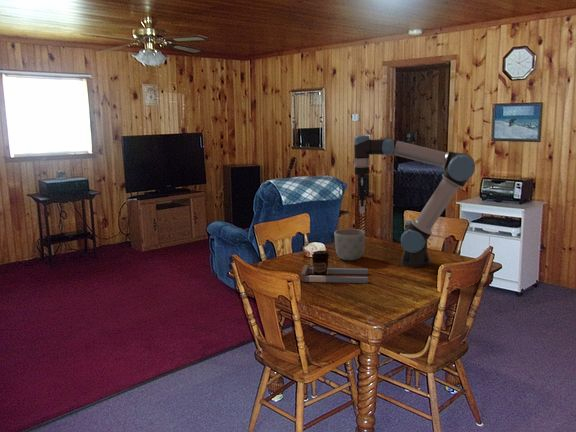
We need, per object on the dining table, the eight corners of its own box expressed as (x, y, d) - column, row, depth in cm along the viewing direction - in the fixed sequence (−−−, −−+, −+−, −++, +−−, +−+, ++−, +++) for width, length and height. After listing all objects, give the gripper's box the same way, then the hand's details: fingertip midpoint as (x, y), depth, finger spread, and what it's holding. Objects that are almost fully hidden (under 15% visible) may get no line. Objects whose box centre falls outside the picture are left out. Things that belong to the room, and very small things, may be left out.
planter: (357, 264, 281) (357, 236, 278) (329, 260, 290) (328, 233, 287) (370, 256, 295) (370, 230, 292) (342, 253, 304) (342, 227, 301)
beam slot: (367, 273, 264) (367, 265, 264) (367, 283, 250) (367, 274, 249) (304, 272, 269) (304, 264, 268) (300, 281, 255) (300, 273, 254)
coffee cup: (328, 280, 256) (328, 254, 253) (311, 279, 257) (311, 254, 254) (329, 274, 264) (329, 249, 262) (313, 274, 265) (312, 249, 263)
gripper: (354, 165, 272) (354, 210, 277) (354, 167, 260) (354, 214, 264) (369, 165, 271) (369, 210, 276) (369, 167, 259) (369, 214, 263)
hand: (362, 212), depth 270 cm, fingers closed
